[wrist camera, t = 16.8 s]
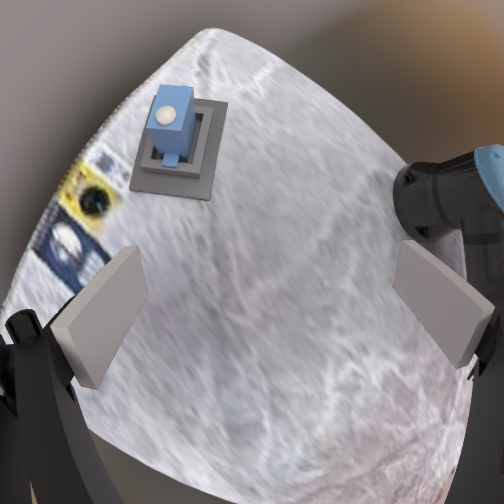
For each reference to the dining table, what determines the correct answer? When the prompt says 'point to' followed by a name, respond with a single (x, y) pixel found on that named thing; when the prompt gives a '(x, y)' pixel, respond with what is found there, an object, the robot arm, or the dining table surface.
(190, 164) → the chassis
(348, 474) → the dining table surface
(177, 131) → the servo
